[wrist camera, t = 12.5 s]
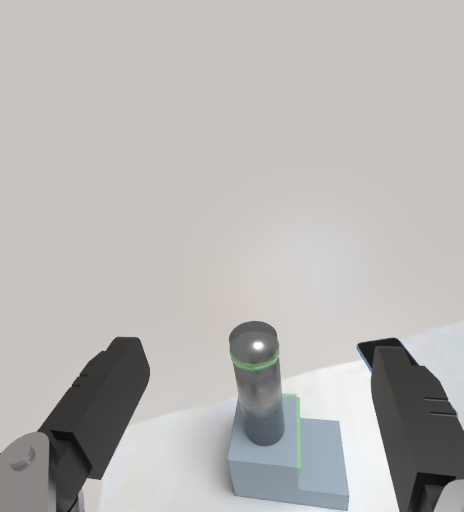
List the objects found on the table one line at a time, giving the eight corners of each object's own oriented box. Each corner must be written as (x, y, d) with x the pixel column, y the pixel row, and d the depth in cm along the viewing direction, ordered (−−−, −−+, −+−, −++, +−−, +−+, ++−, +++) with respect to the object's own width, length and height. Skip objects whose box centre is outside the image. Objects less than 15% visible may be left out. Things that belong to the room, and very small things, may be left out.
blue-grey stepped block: (337, 433, 40) (339, 396, 37) (347, 510, 33) (351, 473, 29) (245, 425, 42) (239, 390, 39) (235, 495, 35) (227, 459, 32)
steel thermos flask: (286, 409, 36) (279, 320, 30) (285, 449, 32) (276, 356, 26) (246, 406, 37) (232, 320, 31) (241, 445, 33) (223, 354, 27)
